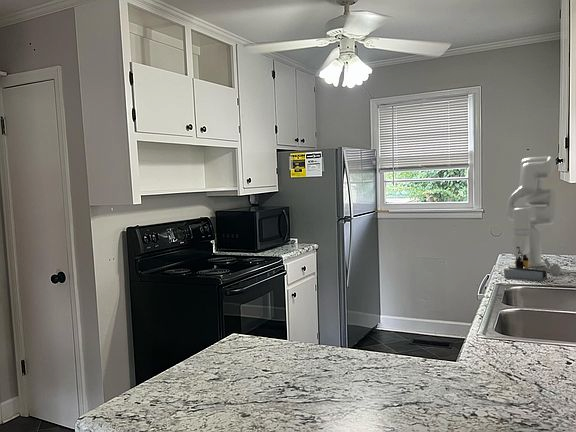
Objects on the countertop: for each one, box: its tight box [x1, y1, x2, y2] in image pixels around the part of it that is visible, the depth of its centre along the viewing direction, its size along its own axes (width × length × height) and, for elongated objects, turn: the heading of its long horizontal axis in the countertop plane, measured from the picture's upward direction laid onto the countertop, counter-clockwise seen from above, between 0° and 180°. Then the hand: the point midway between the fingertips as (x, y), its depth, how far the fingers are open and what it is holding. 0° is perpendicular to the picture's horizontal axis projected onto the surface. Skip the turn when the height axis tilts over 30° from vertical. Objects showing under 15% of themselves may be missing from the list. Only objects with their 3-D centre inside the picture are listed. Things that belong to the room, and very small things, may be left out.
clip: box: [514, 260, 530, 269], centre depth 244 cm, size 2×6×6 cm, turn 45°
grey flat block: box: [503, 266, 548, 282], centre depth 232 cm, size 7×17×4 cm, turn 45°
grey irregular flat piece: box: [543, 257, 561, 276], centre depth 236 cm, size 7×2×8 cm, turn 55°
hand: (522, 267), depth 244 cm, fingers open, 6 cm apart
